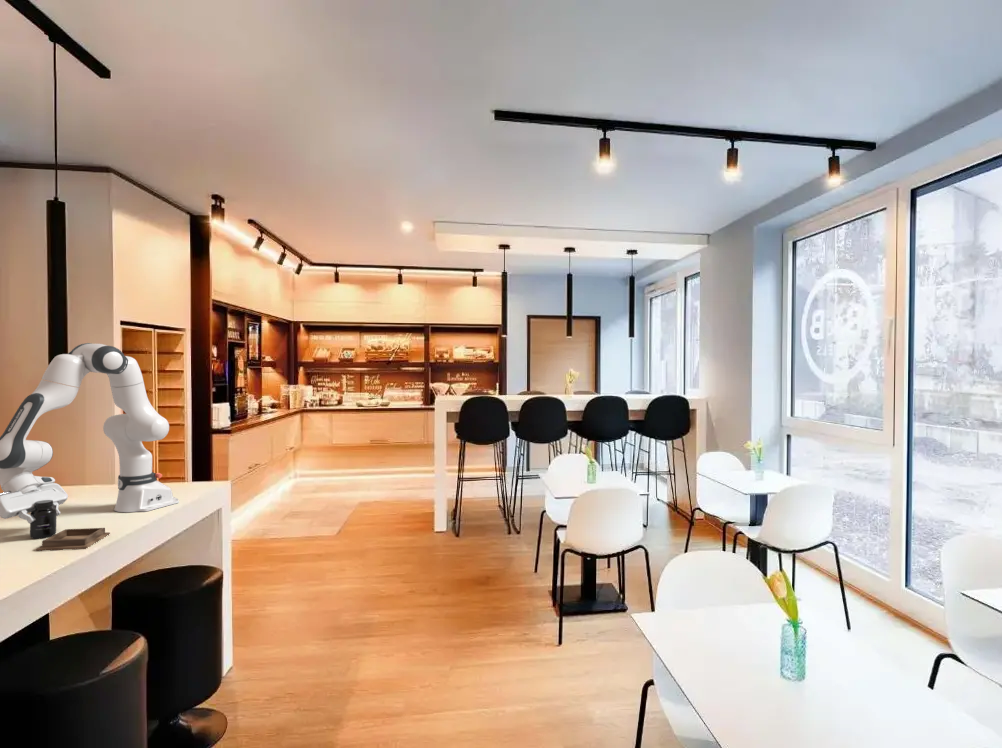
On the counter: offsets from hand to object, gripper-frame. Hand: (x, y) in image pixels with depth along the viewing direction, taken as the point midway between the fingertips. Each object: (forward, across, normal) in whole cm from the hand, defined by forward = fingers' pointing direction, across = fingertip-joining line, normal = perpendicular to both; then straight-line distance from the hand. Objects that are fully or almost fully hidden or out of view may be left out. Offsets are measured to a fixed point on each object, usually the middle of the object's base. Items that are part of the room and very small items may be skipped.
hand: (45, 518), depth 176 cm
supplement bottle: (+4, 0, +5) cm, 6 cm away
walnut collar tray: (+15, -3, -6) cm, 17 cm away
